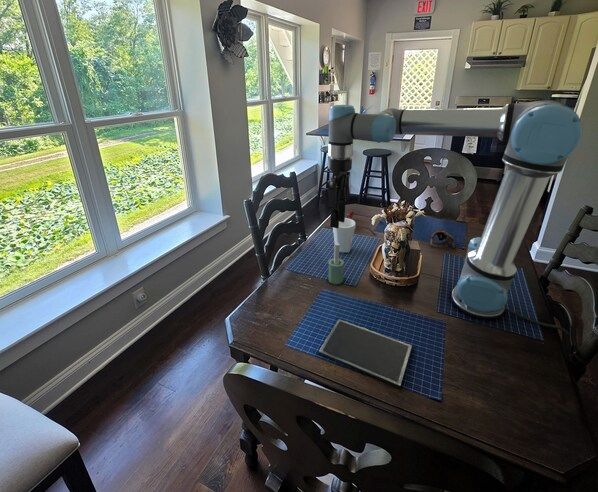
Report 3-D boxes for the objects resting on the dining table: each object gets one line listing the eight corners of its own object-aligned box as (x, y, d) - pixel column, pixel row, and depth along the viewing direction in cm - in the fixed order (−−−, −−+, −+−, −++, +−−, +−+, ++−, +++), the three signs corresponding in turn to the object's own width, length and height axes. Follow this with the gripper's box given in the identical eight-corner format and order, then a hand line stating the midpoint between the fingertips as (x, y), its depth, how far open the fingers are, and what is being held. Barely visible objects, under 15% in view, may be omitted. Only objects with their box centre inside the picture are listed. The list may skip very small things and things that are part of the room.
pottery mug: (459, 253, 136) (454, 240, 131) (436, 259, 139) (431, 247, 135) (450, 233, 145) (445, 221, 141) (429, 240, 148) (424, 228, 144)
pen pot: (345, 278, 120) (346, 260, 116) (339, 286, 115) (340, 267, 112) (331, 274, 122) (332, 256, 119) (325, 282, 118) (326, 263, 115)
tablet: (411, 348, 89) (412, 344, 89) (400, 388, 78) (400, 385, 78) (338, 321, 99) (338, 318, 99) (318, 353, 88) (318, 350, 88)
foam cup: (357, 247, 140) (358, 221, 135) (348, 257, 133) (349, 229, 128) (337, 242, 145) (338, 216, 140) (328, 251, 138) (328, 224, 133)
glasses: (351, 217, 169) (351, 208, 167) (382, 223, 162) (383, 214, 160) (341, 228, 158) (342, 219, 156) (374, 235, 151) (375, 225, 149)
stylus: (338, 278, 119) (340, 243, 113) (337, 281, 117) (338, 245, 111) (334, 277, 120) (335, 242, 114) (332, 280, 118) (333, 244, 112)
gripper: (339, 149, 109) (337, 212, 118) (316, 162, 94) (316, 232, 104) (360, 152, 105) (356, 216, 114) (340, 165, 91) (337, 237, 100)
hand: (337, 224), depth 109 cm, fingers open, 5 cm apart
